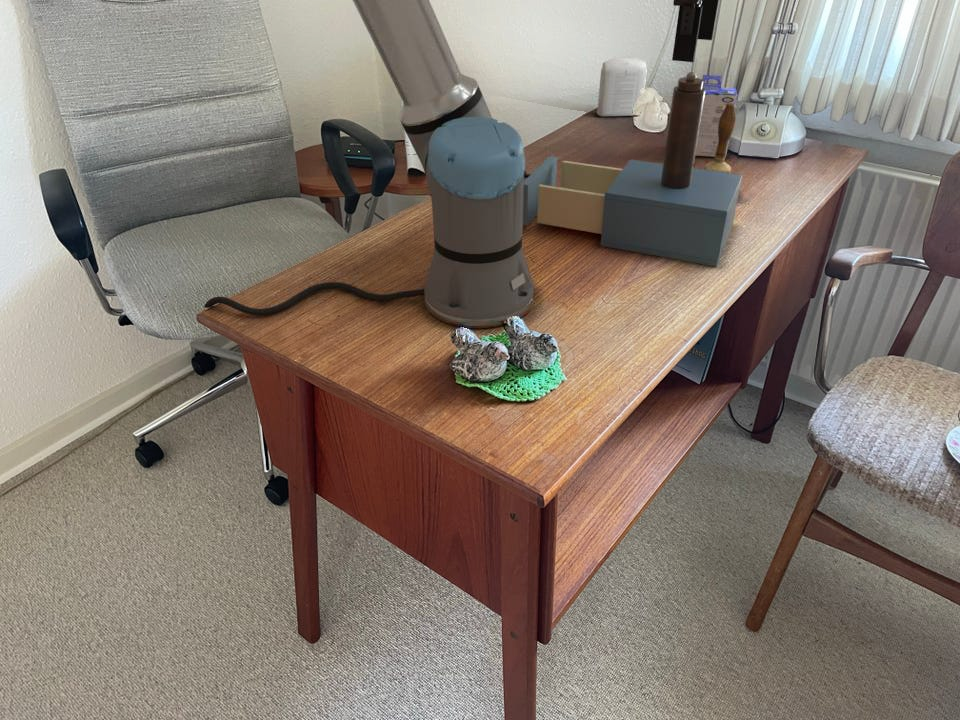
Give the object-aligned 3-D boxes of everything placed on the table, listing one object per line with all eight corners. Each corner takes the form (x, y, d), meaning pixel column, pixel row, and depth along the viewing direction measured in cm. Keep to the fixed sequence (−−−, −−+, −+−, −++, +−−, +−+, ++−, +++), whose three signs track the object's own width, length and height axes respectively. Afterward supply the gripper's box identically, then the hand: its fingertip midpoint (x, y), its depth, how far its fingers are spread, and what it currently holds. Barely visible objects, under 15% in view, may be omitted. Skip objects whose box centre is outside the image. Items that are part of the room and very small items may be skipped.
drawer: (495, 219, 119) (495, 179, 115) (526, 189, 129) (526, 152, 125) (620, 241, 112) (624, 200, 108) (641, 208, 122) (646, 168, 118)
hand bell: (711, 183, 133) (727, 93, 124) (747, 198, 127) (766, 105, 118) (678, 193, 129) (692, 102, 120) (713, 209, 124) (731, 115, 114)
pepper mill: (669, 190, 108) (685, 77, 99) (655, 179, 112) (670, 69, 102) (695, 187, 109) (714, 74, 100) (681, 176, 113) (698, 66, 103)
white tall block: (639, 110, 168) (645, 54, 161) (643, 116, 165) (650, 59, 158) (595, 112, 168) (599, 56, 161) (598, 118, 165) (603, 60, 157)
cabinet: (600, 245, 113) (604, 192, 108) (625, 209, 124) (630, 159, 119) (716, 266, 107) (727, 211, 102) (732, 226, 118) (742, 174, 113)
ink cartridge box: (725, 148, 147) (739, 74, 139) (727, 158, 143) (741, 82, 134) (675, 146, 149) (685, 72, 140) (675, 155, 145) (686, 80, 136)
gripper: (738, -136, 76) (704, 74, 89) (767, -142, 95) (735, 33, 107) (667, -136, 79) (643, 68, 91) (708, -142, 97) (684, 29, 110)
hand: (693, 49), depth 99 cm, fingers open, 13 cm apart
